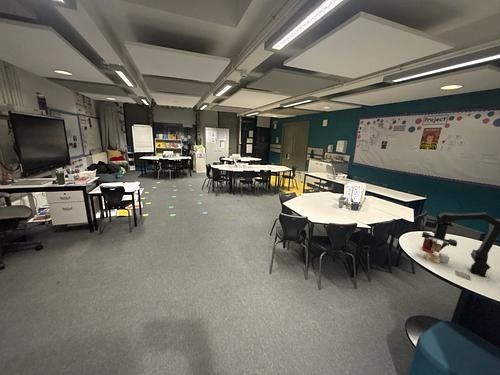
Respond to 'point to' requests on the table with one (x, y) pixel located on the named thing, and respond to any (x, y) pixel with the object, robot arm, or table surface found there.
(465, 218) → the robot arm
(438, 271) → the table surface
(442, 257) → the grey block
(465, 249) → the table surface
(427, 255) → the oak base
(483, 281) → the table surface
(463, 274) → the card
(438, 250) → the walnut block
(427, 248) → the canned food
